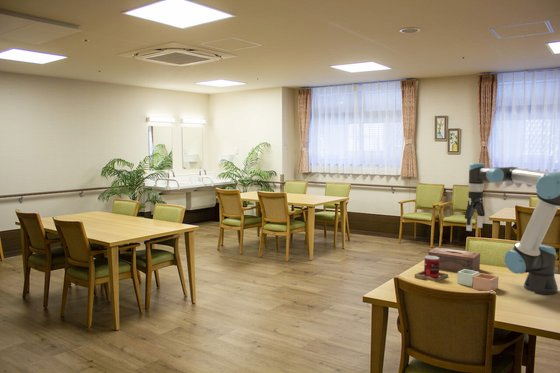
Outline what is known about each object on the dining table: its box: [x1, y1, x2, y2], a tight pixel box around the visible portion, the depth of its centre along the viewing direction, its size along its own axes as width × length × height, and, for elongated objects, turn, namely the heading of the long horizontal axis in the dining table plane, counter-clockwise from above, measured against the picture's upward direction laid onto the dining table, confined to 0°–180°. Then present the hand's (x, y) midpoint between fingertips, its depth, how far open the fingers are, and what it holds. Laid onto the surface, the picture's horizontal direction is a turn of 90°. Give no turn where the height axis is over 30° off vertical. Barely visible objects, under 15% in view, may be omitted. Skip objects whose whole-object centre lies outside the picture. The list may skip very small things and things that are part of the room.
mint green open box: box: [456, 269, 480, 288], centre depth 253 cm, size 8×8×7 cm
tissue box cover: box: [427, 246, 481, 273], centre depth 284 cm, size 26×14×10 cm, turn 53°
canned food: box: [423, 255, 440, 278], centre depth 265 cm, size 8×8×11 cm
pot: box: [472, 272, 499, 292], centre depth 244 cm, size 9×9×7 cm
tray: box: [414, 270, 449, 282], centre depth 266 cm, size 13×13×2 cm
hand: (474, 229), depth 266 cm, fingers open, 13 cm apart
